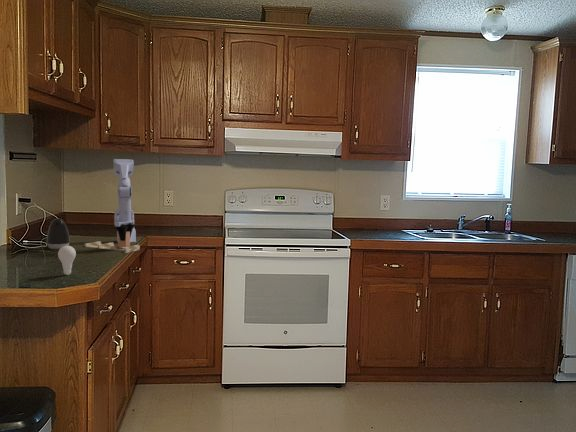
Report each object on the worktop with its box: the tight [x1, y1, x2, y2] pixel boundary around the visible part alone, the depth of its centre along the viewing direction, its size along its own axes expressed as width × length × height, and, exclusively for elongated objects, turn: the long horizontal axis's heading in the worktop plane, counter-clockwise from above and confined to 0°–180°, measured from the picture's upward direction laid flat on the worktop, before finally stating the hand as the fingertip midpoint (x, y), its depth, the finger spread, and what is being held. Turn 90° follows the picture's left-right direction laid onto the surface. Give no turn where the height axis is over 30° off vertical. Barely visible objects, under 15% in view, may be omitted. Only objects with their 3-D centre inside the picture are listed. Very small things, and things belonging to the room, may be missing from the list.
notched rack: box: [84, 240, 141, 254], centre depth 246 cm, size 10×25×2 cm, turn 68°
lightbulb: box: [57, 245, 77, 276], centre depth 187 cm, size 6×6×11 cm
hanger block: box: [117, 231, 131, 247], centre depth 242 cm, size 4×4×7 cm
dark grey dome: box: [46, 217, 71, 250], centre depth 241 cm, size 10×10×15 cm
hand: (125, 239), depth 242 cm, fingers closed on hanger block, 4 cm apart
